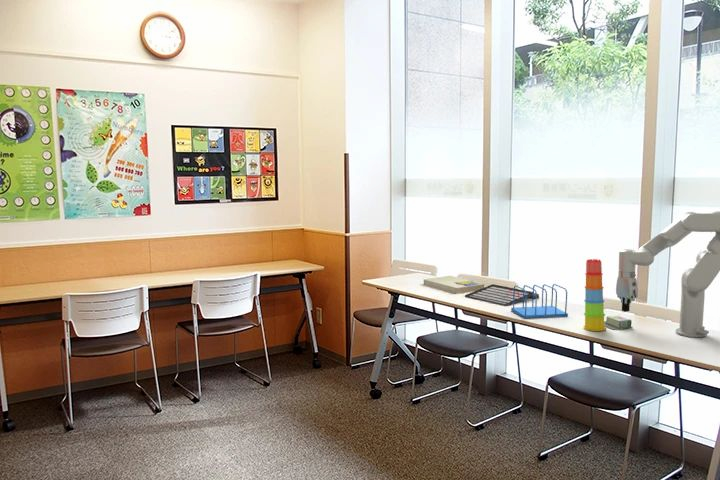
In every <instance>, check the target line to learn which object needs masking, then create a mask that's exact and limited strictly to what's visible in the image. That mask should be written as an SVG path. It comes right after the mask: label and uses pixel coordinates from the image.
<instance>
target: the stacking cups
mask: <svg viewBox="0 0 720 480" xmlns="http://www.w3.org/2000/svg"><path fill="white" fill-rule="evenodd" d="M585 264H586V265H585V268H586V269H585V273H584V274H585V285H584V289H585V291H584V292H585V294H584V295H585V298H584V300H583V301H584V306H585V307H584V313H583V315H584V325H583V326H582V327H583V329H584V330H586V331H592V332H603V331H606V329H607V328H606V327H604V321H605V316H606V314H605V312H604V310H605V307H604V303H605V300H604V292H603V291H604V290H603V289H604V286H603V270H602V267H603V266H602V261H601V259H596V258H593V259H587V260H586V263H585Z"/></svg>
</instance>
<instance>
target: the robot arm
mask: <svg viewBox="0 0 720 480" xmlns="http://www.w3.org/2000/svg"><path fill="white" fill-rule="evenodd" d="M692 232H693V233H695V232H697V233H698V232H699V233H711V234H710V236H709V238H708V240H707V241H706V242H705V244H704V246H703V247H702V248H701V249H700V251H699V253H698V254H697V256H696V257H695V260H696V261H695V262H696V264H695V265H694V267H690V268H688V269H686V270H685V271H684V272H683V273H682V275H681V281H680V282H681V296H680V297H681V299H680V311H679V312H680V313H679V328H676V329H675V333H676V335H677V334H678V335H679V336H682V337H688V338H704V337H706V336H707V335H708V334H709V333H710V331H709V330H707V329H705V326H704V325H703V324H704V311H705V291H706V290H707V289H708V288H709V287H710V285H711V284H712V283H713V281H714V280H715V278H716V277H717V276H718V274H720V211H719V210H718V211H714V212H712V213H711V212H710V213H697V212H694V211H689V212H685V213H683V214H682V215H681V216H679V217H678V218H677V219H676V220H675V221H673V222H672V223H671V224H670V225H668V226H667V227H666V228H664V230H662V231H660V232H659V233H658V234H657V235H655V236H654V237H653V238H651V239H650V240H648V241H647V242H646V243H645V244H643V245H642V246H641V247H639V248H638V250H634V249H632V248H631V249H630V248H629V249H627V248H625V249H620V250H619V252H618V276H617V279H616V285H615V294H616V295H617V298H618V299H619V300H620V303H621V311H622V312H626V313H627V312H630V304H631V303H632V302H636V299H637V298H638V296H639V290H638V280H637V278H636V276H637V273H636V266H643V267H647V266H651V265H652V264H653V263H654V260H655V257H656V256H657V255H658V254H659V253H662V252H663V251H664V250H665V249H667V248H671V247H674V246H676V245H677V244H679V243H680V242H682V240H683V239H685V238H686V237H687V236H689V235H690V234H691V233H692Z"/></svg>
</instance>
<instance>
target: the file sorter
mask: <svg viewBox="0 0 720 480" xmlns="http://www.w3.org/2000/svg"><path fill="white" fill-rule="evenodd" d="M554 286H556V287H558V288H561V289H563V290H564V291H565V306H564V307H565V308H564V310H562V309H560V308H557V306H558V305H557V304H558V302H557V301H558V291H557V289H556V288H555V287H554ZM526 287H527V288H528V289H531V290H532V292H533V298H532V302H531V303H532V305H531V306H527V305H528V303H527V302H528V301H527V299H528V298H527V292H526V291H527V290H526V289H525V288H526ZM535 287H537V288H539V289H541V305H540V306H539V305H538V306H537V303H538V301H537V300H538V299H537V294H538V292H537V290H536V288H535ZM544 287H547V288H550V289H551V305H548V304H547V303H548V292H547V290H546V288H544ZM513 288H514V293H513V304H512V307H511V309H510V310H511V312H513V313H515V314H516V315H518V316H519V317H522V318H523V319H535V318H537V319H539V318H557V317H559V318H561V317H562V318H564V317H565V318H566V317H568V316H569V313H568V312H567V309H568V308H567V306H568V290H567V288H565V287H564V286H561V285H559V284H556V283H553V284H552V286H550V285H549V284H543V285H542V286H540V285H537V284H533V286H532V287H531V286H529V285H526V284H524V285H523V287H521V286H519V285H514V286H513ZM516 288H517V289H520V290H523V300H522V306H519V307H517V306H516V307H515V303H514V297H515V289H516ZM524 291H525V293H526V298H525V299H524ZM554 291H555V306H554V304H553V300H554ZM544 292H545V305H544ZM534 293H536V299H534ZM534 301H535V306H534Z"/></svg>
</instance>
